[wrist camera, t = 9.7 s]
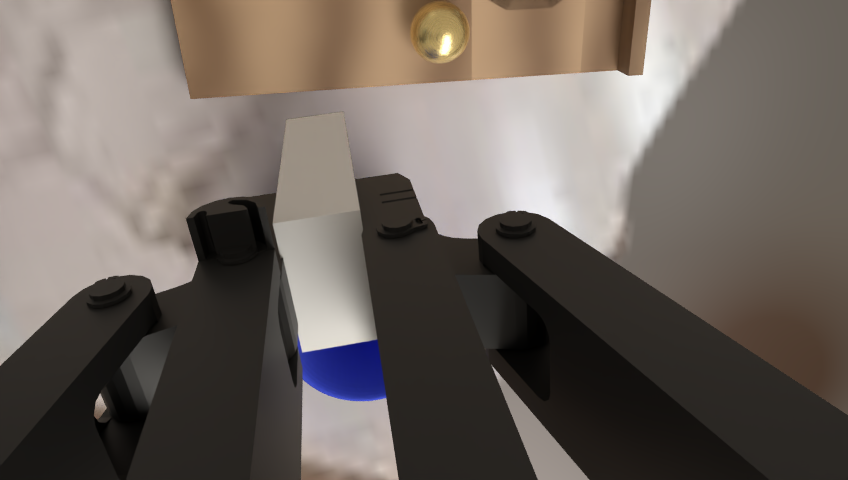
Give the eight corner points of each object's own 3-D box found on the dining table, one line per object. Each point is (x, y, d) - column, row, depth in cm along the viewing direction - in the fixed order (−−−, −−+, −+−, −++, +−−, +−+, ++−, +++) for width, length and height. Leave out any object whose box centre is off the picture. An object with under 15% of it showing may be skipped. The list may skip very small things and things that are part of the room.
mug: (221, 201, 38) (188, 283, 29) (419, 186, 40) (445, 260, 31) (242, 315, 42) (219, 419, 33) (423, 298, 43) (447, 393, 34)
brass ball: (408, 59, 34) (415, 70, 31) (405, -1, 32) (412, 5, 30) (463, 56, 34) (475, 67, 31) (463, -4, 33) (475, 2, 30)
